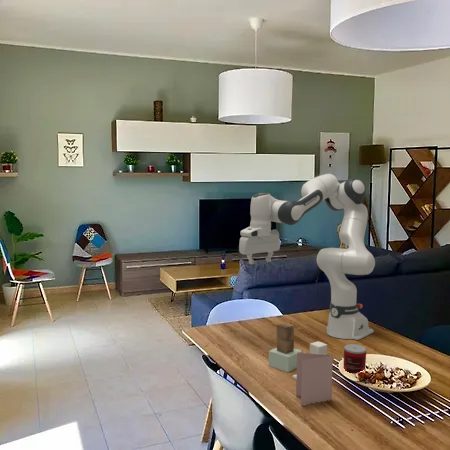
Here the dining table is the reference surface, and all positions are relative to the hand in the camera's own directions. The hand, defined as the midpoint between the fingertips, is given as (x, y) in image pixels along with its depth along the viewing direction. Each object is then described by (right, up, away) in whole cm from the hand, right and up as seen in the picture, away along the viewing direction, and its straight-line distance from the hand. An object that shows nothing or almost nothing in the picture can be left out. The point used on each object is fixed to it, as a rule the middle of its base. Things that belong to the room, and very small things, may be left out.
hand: (259, 262), depth 215 cm
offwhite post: (+20, -38, -28) cm, 51 cm away
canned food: (+32, -39, -34) cm, 61 cm away
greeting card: (+13, -41, -54) cm, 69 cm away
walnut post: (+8, -32, -25) cm, 41 cm away
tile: (+16, -39, -36) cm, 55 cm away
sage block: (+8, -38, -24) cm, 45 cm away
